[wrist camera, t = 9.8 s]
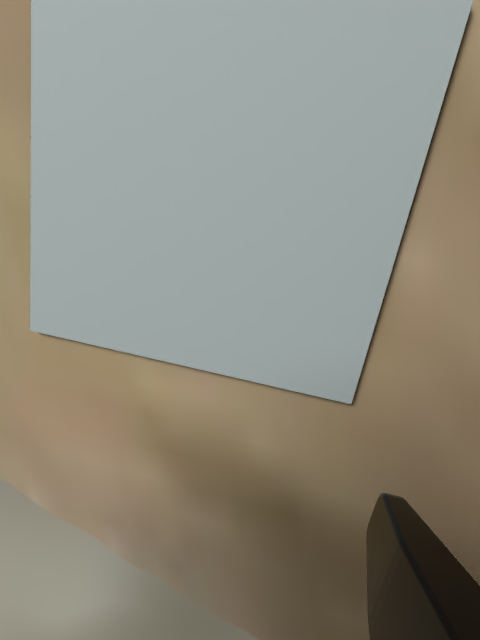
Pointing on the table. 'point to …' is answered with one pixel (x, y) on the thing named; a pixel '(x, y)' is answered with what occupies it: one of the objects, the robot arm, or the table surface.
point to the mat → (230, 175)
